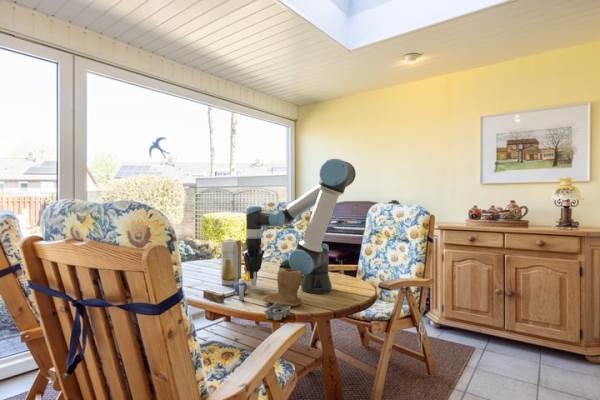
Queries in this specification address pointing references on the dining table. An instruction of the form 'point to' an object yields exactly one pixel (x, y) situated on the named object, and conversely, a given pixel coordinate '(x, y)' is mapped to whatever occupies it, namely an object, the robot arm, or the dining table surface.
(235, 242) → the juice carton
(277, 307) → the egg carton
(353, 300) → the dining table surface
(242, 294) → the white rounded rod
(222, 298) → the wall
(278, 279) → the brown boot
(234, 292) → the white pin
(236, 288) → the ball
